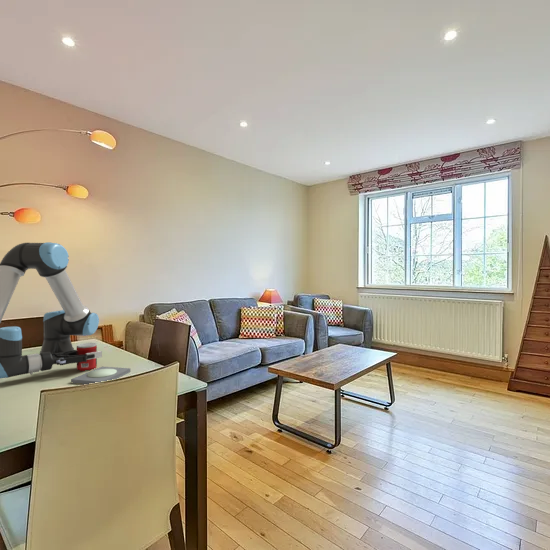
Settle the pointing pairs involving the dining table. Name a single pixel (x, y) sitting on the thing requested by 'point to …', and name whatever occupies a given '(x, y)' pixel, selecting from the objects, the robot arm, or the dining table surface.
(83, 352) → the canned food
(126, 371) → the board
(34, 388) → the dining table surface
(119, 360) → the dining table surface
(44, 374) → the dining table surface
